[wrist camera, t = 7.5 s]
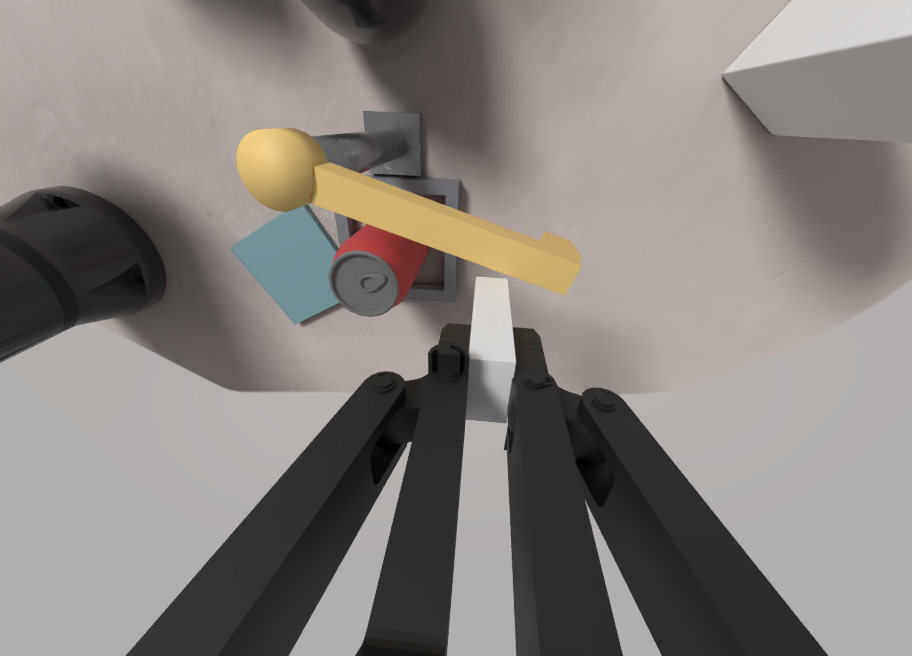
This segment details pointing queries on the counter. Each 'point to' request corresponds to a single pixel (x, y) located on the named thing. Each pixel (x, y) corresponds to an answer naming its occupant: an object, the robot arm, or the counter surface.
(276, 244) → the mat
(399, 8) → the pump dispenser
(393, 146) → the post
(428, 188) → the collar
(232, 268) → the counter surface
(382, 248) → the beer can
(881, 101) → the milk carton
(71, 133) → the counter surface
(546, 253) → the clip arm
